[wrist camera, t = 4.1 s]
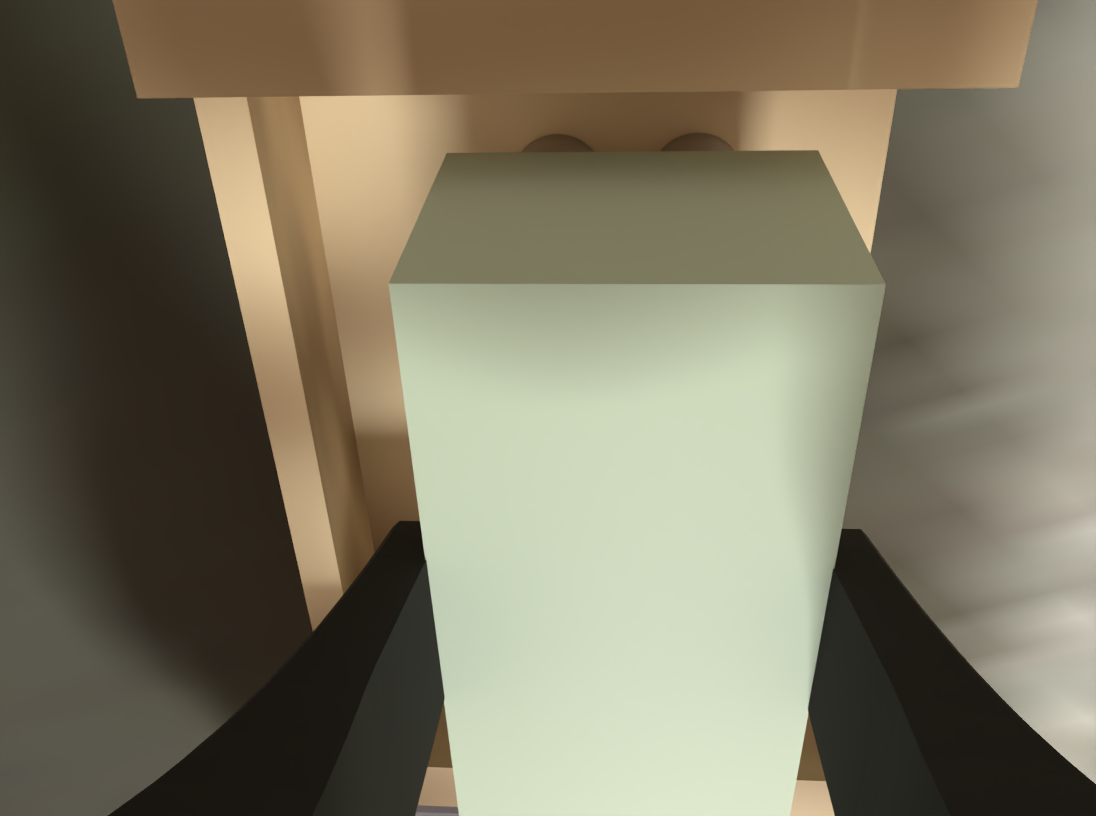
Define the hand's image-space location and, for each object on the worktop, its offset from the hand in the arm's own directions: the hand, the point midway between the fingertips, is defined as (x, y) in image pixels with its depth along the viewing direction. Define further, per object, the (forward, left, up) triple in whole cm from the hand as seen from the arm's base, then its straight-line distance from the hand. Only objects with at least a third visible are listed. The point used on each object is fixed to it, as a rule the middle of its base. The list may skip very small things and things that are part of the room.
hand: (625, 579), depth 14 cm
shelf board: (0, 0, -3) cm, 3 cm away
